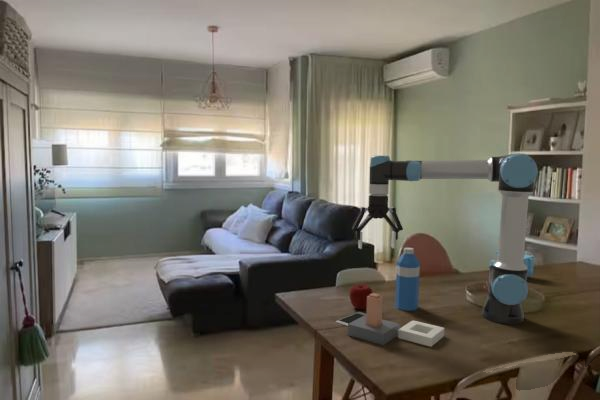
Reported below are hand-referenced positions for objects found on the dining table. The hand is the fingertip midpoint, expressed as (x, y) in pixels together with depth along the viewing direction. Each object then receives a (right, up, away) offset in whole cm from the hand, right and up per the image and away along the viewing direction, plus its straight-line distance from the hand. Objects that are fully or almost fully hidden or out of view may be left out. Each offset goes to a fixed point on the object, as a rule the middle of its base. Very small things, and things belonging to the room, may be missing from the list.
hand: (376, 248), depth 186 cm
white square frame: (+12, -29, -21) cm, 38 cm away
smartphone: (-9, -28, -5) cm, 30 cm away
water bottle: (+14, -26, +11) cm, 32 cm away
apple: (-5, -26, +8) cm, 28 cm away
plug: (-4, -29, -20) cm, 35 cm away
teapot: (+83, -22, +64) cm, 107 cm away
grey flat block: (-4, -29, -20) cm, 35 cm away
